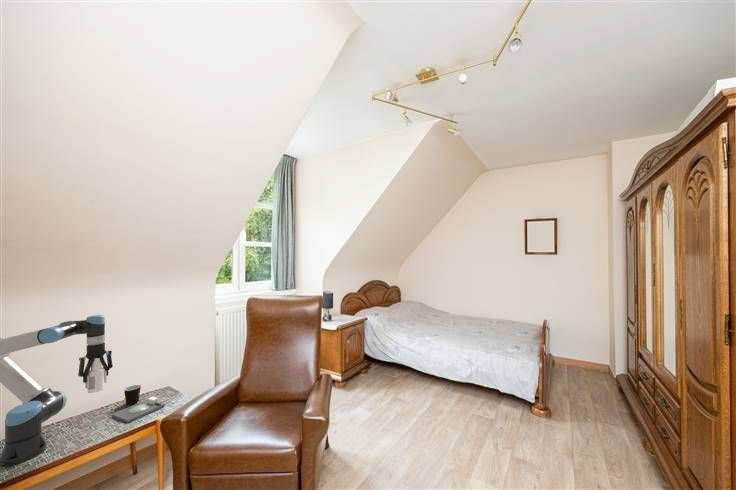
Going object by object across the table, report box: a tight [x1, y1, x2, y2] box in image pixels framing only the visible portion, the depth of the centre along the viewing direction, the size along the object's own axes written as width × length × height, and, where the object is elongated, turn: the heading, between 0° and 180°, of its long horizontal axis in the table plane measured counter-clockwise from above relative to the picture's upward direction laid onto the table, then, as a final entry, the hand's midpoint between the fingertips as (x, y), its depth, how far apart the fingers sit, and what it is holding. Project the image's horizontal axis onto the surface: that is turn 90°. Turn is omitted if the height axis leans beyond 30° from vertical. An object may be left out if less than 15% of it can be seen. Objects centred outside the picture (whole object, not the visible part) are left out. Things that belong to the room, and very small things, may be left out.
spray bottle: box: [87, 358, 105, 394], centre depth 162 cm, size 7×7×18 cm
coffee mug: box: [123, 384, 142, 406], centre depth 193 cm, size 12×9×10 cm
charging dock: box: [110, 396, 165, 424], centre depth 181 cm, size 20×18×4 cm
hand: (96, 384), depth 162 cm, fingers closed on spray bottle, 7 cm apart
